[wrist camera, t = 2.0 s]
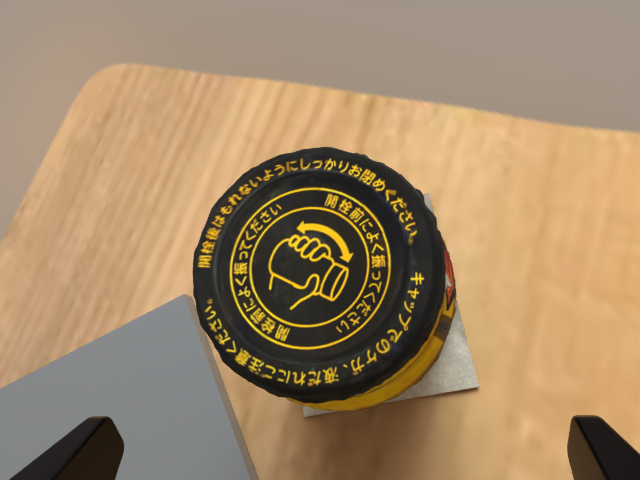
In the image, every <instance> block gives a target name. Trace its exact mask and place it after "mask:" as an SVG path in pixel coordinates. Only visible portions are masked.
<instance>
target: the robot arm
mask: <svg viewBox="0 0 640 480" xmlns="http://www.w3.org/2000/svg"><path fill="white" fill-rule="evenodd" d="M567 451H568V458H569V462H570V466H571V470H572V474H573V478H574V480H640V454H639V453H638V452H637V451H636V450H635V449H634V448H633V447H632V446H631V445H630V444H629V443H628V442H627V441H625V440H624V439H623V438H622V437H621V436H620V435H619V434H618V433H617V432H616V431H615V430H614V429H613V428H612V427H611V426H609V425H608V424H607V423H606V422H605V421H604V420H603V419H602V418H600V417H598V416H595V415H576V416H574V417H573V418H572V420H571V424H570V431H569V438H568V444H567ZM123 453H124V441H123V439H122V437H121V435H120V433H119V431H118V429H117V427H116V425H115V424H114V422H113V420H112V419H111V418H110V417H108V416H92V417H89V418H87V419H86V420H84V421H83V422H82V423H81V424H79V425H78V426H77V427H75V428H74V429H73V430H72V431H70V432H69V433H68V434H67V435H65V436H64V437H63V438H61V439H60V440H59V441H58V442H56V443H55V444H54V445H52V446H51V447H50V448H49V449H47V450H46V451H45V452H44V453H42V454H41V455H40V456H38V457H37V458H36V459H35V460H33V461H32V462H31V463H30V464H28V465H27V466H26V467H24V468H23V469H22V470H21V471H19V472H18V473H17V474H15V475H14V476H13V477H12V478H10V479H9V480H115V479H116V475H117V472H118V469H119V466H120V463H121V460H122V457H123Z"/></svg>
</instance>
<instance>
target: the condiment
mask: <svg viewBox="0 0 640 480" xmlns="http://www.w3.org/2000/svg"><path fill="white" fill-rule="evenodd" d="M193 284H194V291H193V294H194V298H195V300H196V308H197V314H198V317H199V321H200V325H201V326H202V328H203V329H204V331H205V332H206V333H207V334H208V336H209V337H210V339H211V340H212V342H213V344H214V347H215V348H216V350H217V351H218V352H219V354H220V357H221V359H222V361H223V362H224V363H225V364H226V365H227V366H229V367H230V368H231V369H232V370H233V371H234V372H235V373H237V374H238V375H240V376H241V377H243V378H245V379H246V380H247V381H248V382H251V383H253V384H254V385H256V386H258V387H260V388H262V389H264V390H266V391H267V392H268V393H271V394H273V395H276V396H278V397H285V398H287V399H288V400H290V401H292V402H295V403H298V404H301V405H303V415H304V417H308V416H314V415H320V414H326V413H333V412H337V411H345V410H364V409H367V408H371V407H376V406H380V405H381V404H383V403H388V402H394V401H400V400H405V399H411V398H417V397H423V396H428V395H435V394H439V393H446V392H452V391H458V390H463V389H469V388H475V387H479V383H478V380H477V376H476V372H475V368H474V365H473V361H472V357H471V354H470V350H469V346H468V342H467V339H466V335H465V331H464V327H463V324H462V320H461V316H460V312H459V308H458V304H457V301H456V288H455V278H454V272H453V267H452V263H451V260H450V256H449V252H448V251H447V248H446V245H445V242H444V240H443V238H442V236H441V233H440V231H439V230H438V228H437V220H436V217H435V215H434V212H433V208H432V205H431V201H430V197H429V193H426V194H422V192H421V191H420V190H418V189H415V188H414V187H413V186H412V185H411V184H410V183H409V182H408V181H407V180H406V179H405V178H404V177H403V176H402V175H401V174H399V173H397V172H396V171H394V170H393V169H391V168H389V167H388V166H386V165H385V164H384V163H380V162H376V161H373V160H371V159H369V158H368V157H367V156H366V155H363V154H358V153H354V154H353V153H349V152H346V151H343V150H339V149H335V148H331V147H321V148H311V149H302V150H299V151H296V152H293V153H287V154H282V155H278V156H276V157H274V158H272V159H269V160H267V161H265V162H263V163H261V164H260V165H258V166H256V167H254V168H251V169H250V170H249V171H247V172H246V173H244V174H243V175H242V176H241V177H240V178H239V179H238V180H237V181H236V182H235V183H234V184H233V185H232V186H231V187H230V188H229V189H228V190H227V191H226V192H225V193H224V194H223V196H222V197H221V198H220V199H219V200H218V201H217V202H216V203H215V205H214V206H213V207H212V209H211V211H210V214H209V217H208V219H207V222H206V225H205V227H204V229H203V231H202V234H201V237H200V240H199V243H198V246H197V247H196V249H195V252H194V260H193Z"/></svg>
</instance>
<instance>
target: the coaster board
mask: <svg viewBox="0 0 640 480" xmlns="http://www.w3.org/2000/svg"><path fill="white" fill-rule="evenodd" d="M92 416H108V417H110V418H111V419H112V420H113V422H114V424H115V425H116V427H117V429H118V431H119V433H120V435H121V437H122V439H123V441H124V453H123V457H122V460H121V463H120V466H119V469H118V472H117V475H116V479H115V480H259V479H258V476H257V474H256V471H255V468H254V465H253V463H252V460H251V457H250V454H249V452H248V449H247V446H246V444H245V441H244V438H243V435H242V433H241V430H240V427H239V424H238V422H237V419H236V416H235V414H234V411H233V408H232V405H231V403H230V400H229V397H228V394H227V392H226V389H225V386H224V384H223V381H222V378H221V375H220V373H219V370H218V367H217V364H216V362H215V359H214V356H213V354H212V351H211V348H210V345H209V343H208V340H207V337H206V334H205V332H204V329H203V328H202V326H201V325H200V321H199V317H198V314H197V310H196V307H195V304H194V302H193V299H192V297H191V296H188V295H185V294H183V295H181V296H179V297H177V298H175V299H173V300H172V301H170V302H168V303H166V304H164V305H162V306H160V307H158V308H156V309H154V310H152V311H150V312H148V313H146V314H144V315H142V316H141V317H139V318H137V319H135V320H133V321H131V322H129V323H127V324H125V325H123V326H121V327H119V328H117V329H115V330H113V331H111V332H109V333H108V334H106V335H104V336H102V337H100V338H98V339H96V340H94V341H92V342H90V343H88V344H86V345H84V346H82V347H80V348H78V349H77V350H75V351H73V352H71V353H69V354H67V355H65V356H63V357H61V358H59V359H57V360H55V361H53V362H51V363H49V364H47V365H45V366H44V367H42V368H40V369H38V370H36V371H34V372H32V373H30V374H28V375H26V376H24V377H22V378H20V379H18V380H16V381H14V382H13V383H11V384H9V385H7V386H5V387H3V388H1V389H0V480H9V479H10V478H12V477H13V476H14V475H15V474H17V473H18V472H19V471H21V470H22V469H23V468H24V467H26V466H27V465H28V464H30V463H31V462H32V461H33V460H35V459H36V458H37V457H38V456H40V455H41V454H42V453H44V452H45V451H46V450H47V449H49V448H50V447H51V446H52V445H54V444H55V443H56V442H58V441H59V440H60V439H61V438H63V437H64V436H65V435H67V434H68V433H69V432H70V431H72V430H73V429H74V428H75V427H77V426H78V425H79V424H81V423H82V422H83V421H84V420H86V419H87V418H89V417H92Z"/></svg>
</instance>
